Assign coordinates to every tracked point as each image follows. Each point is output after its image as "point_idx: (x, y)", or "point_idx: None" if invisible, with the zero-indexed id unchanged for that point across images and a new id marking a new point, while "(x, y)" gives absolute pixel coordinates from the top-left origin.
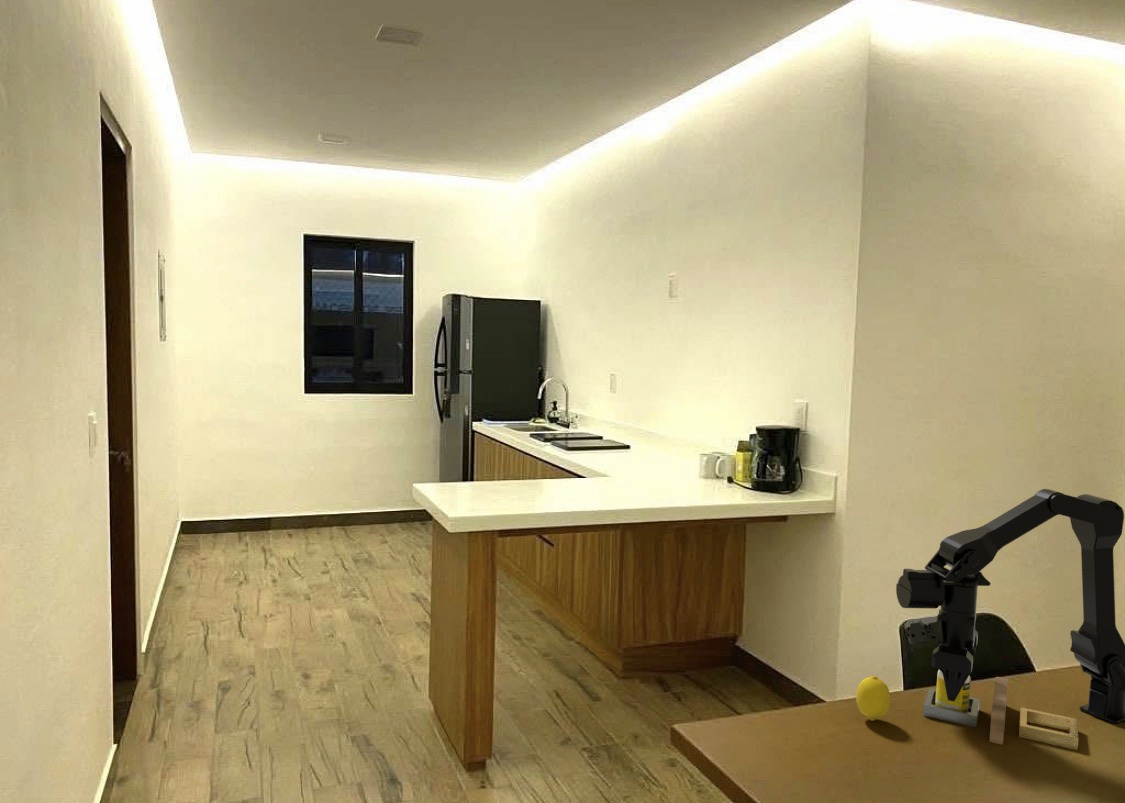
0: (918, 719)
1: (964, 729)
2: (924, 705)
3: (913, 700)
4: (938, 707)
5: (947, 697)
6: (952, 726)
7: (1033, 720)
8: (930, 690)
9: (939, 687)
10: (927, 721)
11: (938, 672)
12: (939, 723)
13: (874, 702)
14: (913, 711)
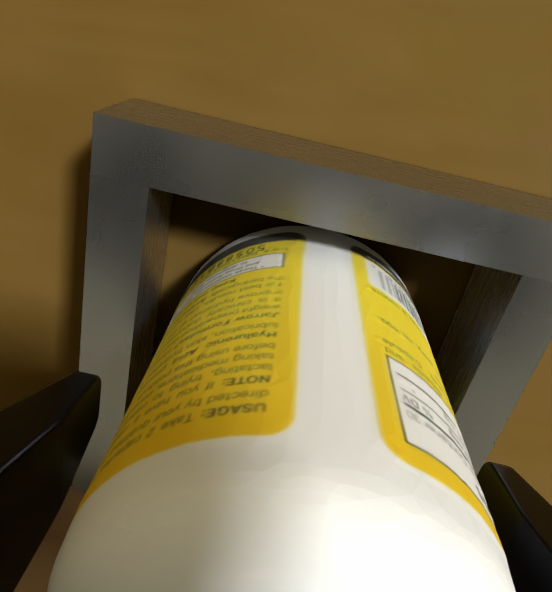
0: (31, 43)
1: (36, 363)
2: (98, 119)
3: (492, 45)
4: (101, 252)
5: (60, 381)
6: (42, 298)
7: None
8: (540, 240)
9: (196, 355)
10: (31, 123)
11: (247, 489)
12: (45, 216)
13: None
14: (201, 13)
